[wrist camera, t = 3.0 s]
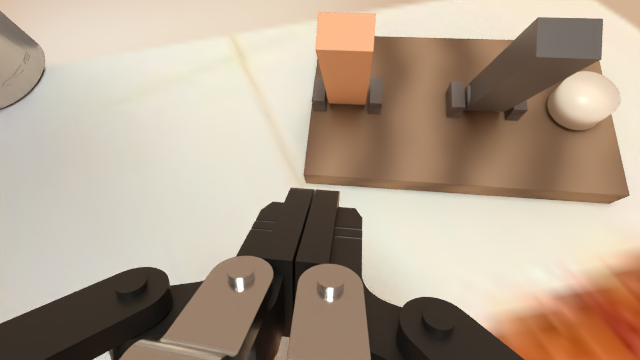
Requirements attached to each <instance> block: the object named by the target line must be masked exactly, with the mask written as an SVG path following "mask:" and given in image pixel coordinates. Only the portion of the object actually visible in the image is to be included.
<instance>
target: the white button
mask: <svg viewBox="0 0 640 360" xmlns="http://www.w3.org/2000/svg"><path fill="white" fill-rule="evenodd" d="M619 104H620V93H619V91H618V89H617V87H616V86H615V84H614V83H613V82H612V81H611V80H609V79H608V78H606V77H605V76H603V75H601V74H598V73H595V72H590V71H580V72H577V73H575V74H573V75H571V76H570V77H568V78H566V79H565V80H564V81H563V82H562V83H561V84H560V85H559V86H558V87H557V88H556V90H555V91H554V92H553V93H552V94H551V95H550V96H549V98H548V102H547V107H548V111H549V113H550V115H551V116H552V118H553V119H554V120H555V121H556V122H557V123H559V124H560V125H562V126H564V127H566V128H569V129H572V130H587V129H590V128H592V127H594V126H595V125H597V124H598V123H599V122H601V121H602V120H604V119H605V118H606V117H608V116H609V115H610V114H612V113H613V112H614V111H615V110H616V109H617V108H618V107H619Z"/></svg>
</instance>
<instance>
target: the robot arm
mask: <svg viewBox="0 0 640 360" xmlns="http://www.w3.org/2000/svg"><path fill="white" fill-rule="evenodd" d="M44 64H45V56H44V52H43V50H42V48H41V47H40V46H39V45H38V43H36V42H35V41H34V40H33V39H32V38H31V37H29V36H28V35H27V34H26V33H25V32H24V31H23V30H21V29H20V28H19V27H18V26H17V25H16V24H15V23H13V22H12V21H11V20H10V19H9V18H8V17H6V16H5V15H4V14H3V13H2V12H1V11H0V108H3V107H5V106H8V105H10V104H12V103H14V102H16V101H17V100H19V99H20V98H22V97H23V96H24V95H25V94H27V93H28V92H29V91H30V90H31V89H32V88H33V87H34V85H35V84H36V83H37V81H38V80H39V78H40V77H41V74H42V72H43V69H44ZM282 336H285V337H290V341H289V348H288V355H287V360H524V359H523V358H522V357H520V356H519V355H518V354H517V353H515V352H514V351H513V350H512V349H510V348H509V347H508V346H507V345H505V344H504V343H503V342H501V341H500V340H499V339H498V338H496V337H495V336H494V335H493V334H491V333H490V332H489V331H488V330H486V329H485V328H484V327H483V326H481V325H480V324H479V323H478V322H476V321H475V320H474V319H473V318H471V317H470V316H469V315H467V314H466V313H465V312H464V311H462V310H461V309H460V308H458V307H457V306H455V305H453V304H452V303H449V302H447V301H445V300H442V299H438V298H433V297H419V298H415V299H412V300H410V301H409V302H407V303H406V304H405V305H404V306H403V307H399V306H396V305H393V304H391V303H388V302H386V301H383V300H381V299H380V298H378V297H376V296H375V295H374V294H372V293H371V292H370V291H369V290H368V289H367V287H366V286H365V284H364V282H363V280H362V217H361V216H360V214H359V213H358V212H357V210H356V209H355V208H343V207H339V191H328V190H316V191H315V190H314V189H301V188H290V191H289V193H288V195H287V197H286V200H285V202H284V203H281V202H272V203H270V204H269V205H267V206H266V207H265V208H263V209H262V210H261V211H260V213H259V215H258V217H257V219H256V221H255V222H254V224H253V226H252V229H251V230H250V232H249V234H248V235H247V237H246V239H245V241H244V243H243V245H242V246H241V248H240V250H239V252H238V254H237V256H236V257H233V258H230V259H227V260H225V261H223V262H221V263H220V264H218V265H217V266H216V267H214V269H213V270H212V271H211V272H210V274H209V275H208V276H207V278H206V279H205V280H204V281H201V282H195V283H188V284H180V285H172V286H170V283H169V279H168V276H167V274H166V273H165V272H164V271H162V270H160V269H157V268H152V267H140V268H134V269H130V270H127V271H124V272H121V273H119V274H116V275H114V276H112V277H109V278H107V279H105V280H102V281H100V282H97V283H95V284H93V285H90V286H88V287H86V288H83V289H81V290H79V291H76V292H74V293H72V294H69V295H67V296H64V297H62V298H60V299H57V300H55V301H53V302H50V303H48V304H46V305H43V306H41V307H39V308H36V309H34V310H31V311H29V312H27V313H24V314H22V315H20V316H17V317H15V318H13V319H10V320H8V321H6V322H3V323H1V324H0V360H93V359H94V358H96V357H98V356H100V355H102V354H103V353H105V352H107V351H109V354H110V357H111V360H277V357H276V355H277V352H278V349H279V345H280V341H281V337H282Z"/></svg>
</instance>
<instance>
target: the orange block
mask: <svg viewBox="0 0 640 360" xmlns="http://www.w3.org/2000/svg"><path fill="white" fill-rule="evenodd" d="M375 19H376V13H330V12H318V23H317V37H316V53H317V57H318V61H319V66H320V70H321V74H322V78H323V82H324V86H325V90H326V94H327V98H328V102H329V104H351V105H365V103H366V97H367V90H368V84H369V77H370V70H371V64H372V57H373V49H374V34H375Z"/></svg>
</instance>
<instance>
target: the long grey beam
mask: <svg viewBox="0 0 640 360" xmlns="http://www.w3.org/2000/svg"><path fill="white" fill-rule="evenodd" d="M602 29H603V19H587V18H540V17H538V18H537V19H536V20H535V21H534V22H533V23H532V24H531V25H530V26H529V27H528V28H526V29H525V30H524V31H523V32H522V33H521V34H520V35H519V36H518V37H517V38H516V39H515V40H514V41H513V42H512V43H511V44H510V45H509V46H508V47H507V48H505V49H504V50H503V51H502V52H501V53H500V54H499V55H498V56H497V57H496V58H495V59H494V60H493V61H492V62H491V63H490V64H489V65H488V66H487V67H486V68H485V69H483V70H482V71H481V72H480V73H479V74H478V75H477V76H476V77H475V78H474V79H473V80H472V81H471V82H470V83H469V84H468V85H467V86H466V88H465V109H464V110H472V111H494V112H505V111H507V110H509V109H511V108H513V107H515V106H516V105H518V104H520V103H522V102H524V101H526V100H527V99H529V98H531V97H533V96H535V95H537V94H538V93H540V92H542V91H544V90H546V89H548V88H549V87H551V86H553V85H555V84H557V83H559V82H560V81H562V80H564V79H566V78H568V77H570V76H571V75H573V74H575V73H577V72H579V71H581V70H582V69H584V68H586V67H588V66H590V65H592V64H593V63H595V62H597V61H599V60H601V54H602Z"/></svg>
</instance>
